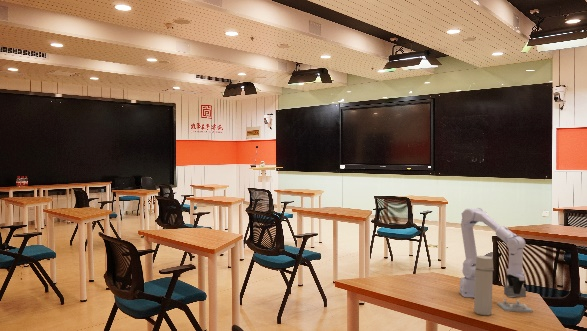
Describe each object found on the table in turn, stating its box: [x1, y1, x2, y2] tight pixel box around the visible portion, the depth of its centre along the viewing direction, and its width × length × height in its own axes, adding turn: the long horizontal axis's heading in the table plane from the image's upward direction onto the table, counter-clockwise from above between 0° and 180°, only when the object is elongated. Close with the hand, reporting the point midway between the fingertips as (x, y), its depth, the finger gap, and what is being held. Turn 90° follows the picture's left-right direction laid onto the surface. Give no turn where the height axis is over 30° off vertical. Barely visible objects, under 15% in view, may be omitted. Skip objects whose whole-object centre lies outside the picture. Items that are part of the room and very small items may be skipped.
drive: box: [503, 284, 527, 298], centre depth 203 cm, size 8×4×4 cm, turn 86°
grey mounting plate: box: [496, 298, 533, 313], centre depth 203 cm, size 12×9×3 cm
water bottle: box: [473, 255, 495, 317], centre depth 196 cm, size 9×8×25 cm
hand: (514, 292), depth 203 cm, fingers closed on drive, 4 cm apart
